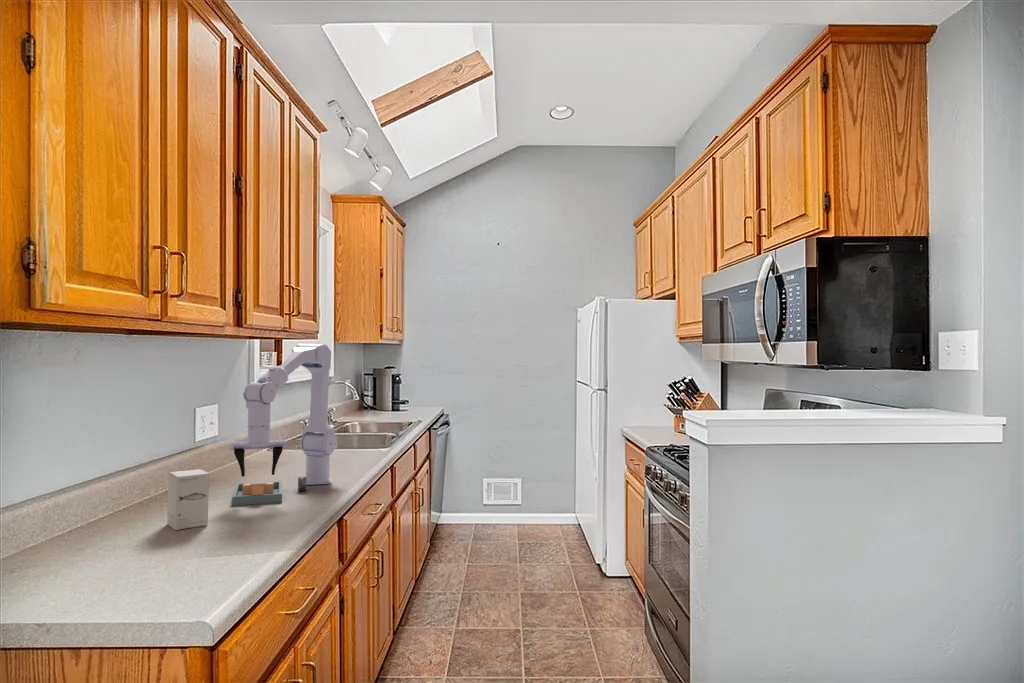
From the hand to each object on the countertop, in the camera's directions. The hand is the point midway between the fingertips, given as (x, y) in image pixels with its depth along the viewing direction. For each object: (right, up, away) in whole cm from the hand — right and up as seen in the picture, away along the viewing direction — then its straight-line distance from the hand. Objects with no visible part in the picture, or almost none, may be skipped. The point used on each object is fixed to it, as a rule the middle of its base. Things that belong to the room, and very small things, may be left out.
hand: (258, 475), depth 176 cm
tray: (-2, -7, +6) cm, 9 cm away
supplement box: (-8, -7, -23) cm, 25 cm away
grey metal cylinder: (+8, -8, +13) cm, 17 cm away
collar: (-1, -6, +4) cm, 7 cm away
